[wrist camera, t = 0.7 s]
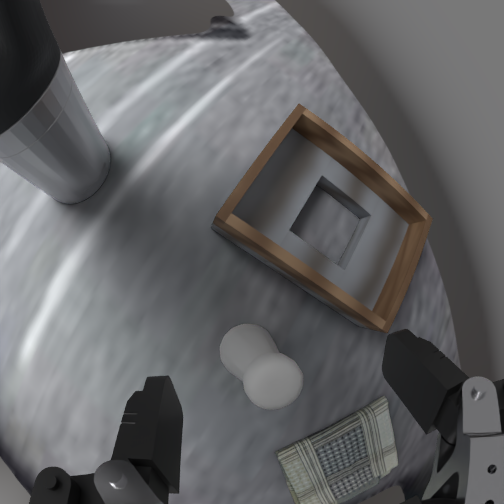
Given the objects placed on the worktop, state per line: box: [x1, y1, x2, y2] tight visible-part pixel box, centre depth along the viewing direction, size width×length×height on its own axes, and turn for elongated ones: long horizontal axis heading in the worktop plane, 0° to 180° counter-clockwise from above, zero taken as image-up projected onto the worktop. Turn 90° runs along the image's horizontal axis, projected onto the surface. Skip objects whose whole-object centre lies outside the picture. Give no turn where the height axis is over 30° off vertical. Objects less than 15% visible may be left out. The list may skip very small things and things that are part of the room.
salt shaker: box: [219, 324, 303, 410], centre depth 24 cm, size 6×6×13 cm
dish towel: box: [275, 396, 398, 504], centre depth 30 cm, size 19×18×3 cm
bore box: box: [211, 104, 432, 333], centre depth 31 cm, size 22×16×6 cm
